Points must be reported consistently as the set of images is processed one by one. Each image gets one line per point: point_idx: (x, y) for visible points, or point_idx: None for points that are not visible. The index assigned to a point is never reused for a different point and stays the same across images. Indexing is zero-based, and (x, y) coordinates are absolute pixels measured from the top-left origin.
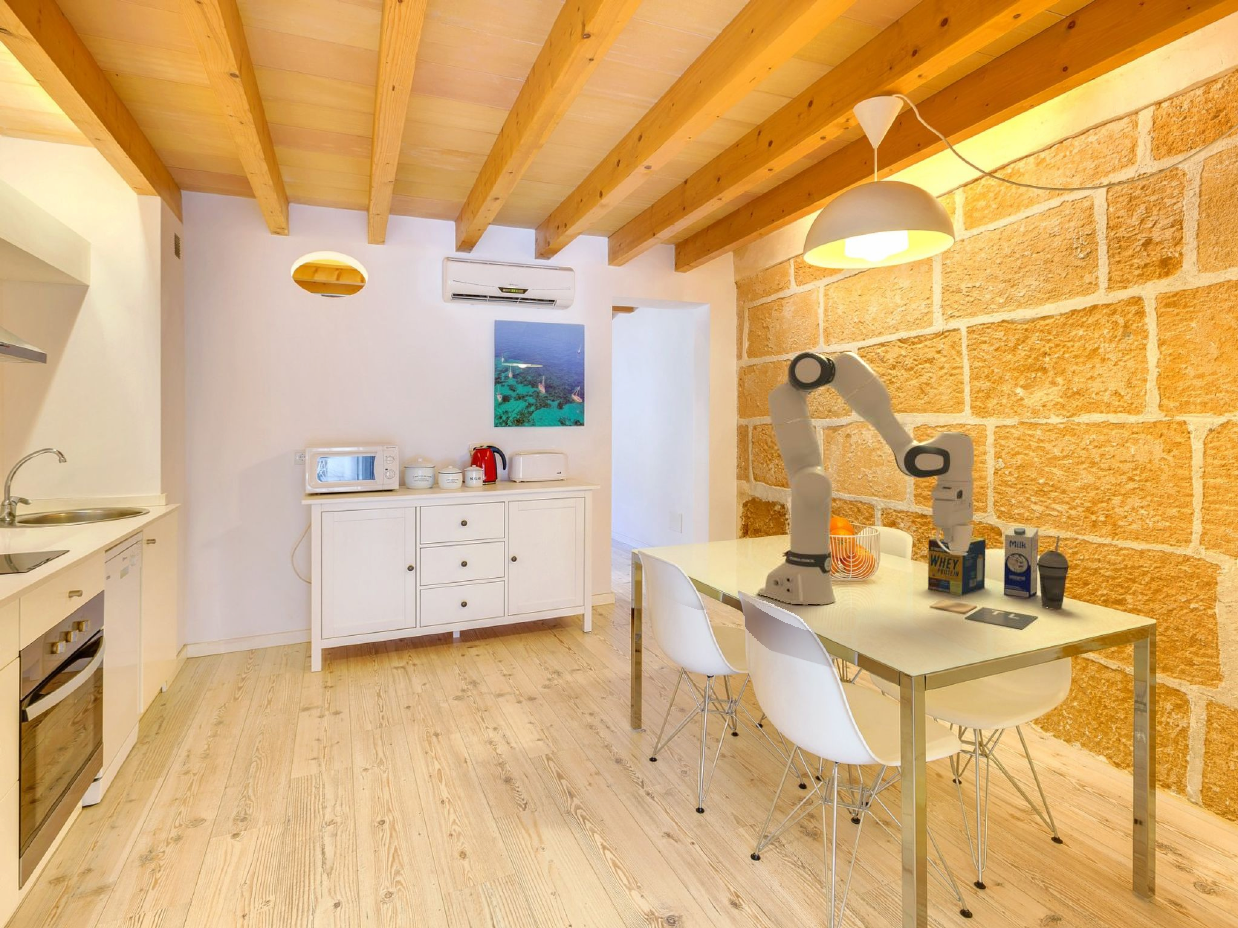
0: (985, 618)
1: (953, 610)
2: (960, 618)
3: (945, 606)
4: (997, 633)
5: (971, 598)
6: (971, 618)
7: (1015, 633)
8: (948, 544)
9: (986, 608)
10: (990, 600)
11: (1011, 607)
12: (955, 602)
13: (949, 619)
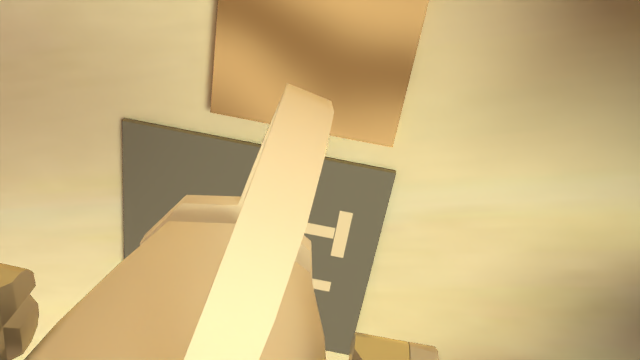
0: (176, 197)
1: (214, 56)
2: (118, 99)
3: (270, 3)
4: (8, 242)
5: (609, 98)
6: (132, 147)
7: (60, 290)
8: (139, 246)
9: (372, 189)
10: (599, 189)
11: (482, 273)
12: (406, 40)
13: (60, 56)
